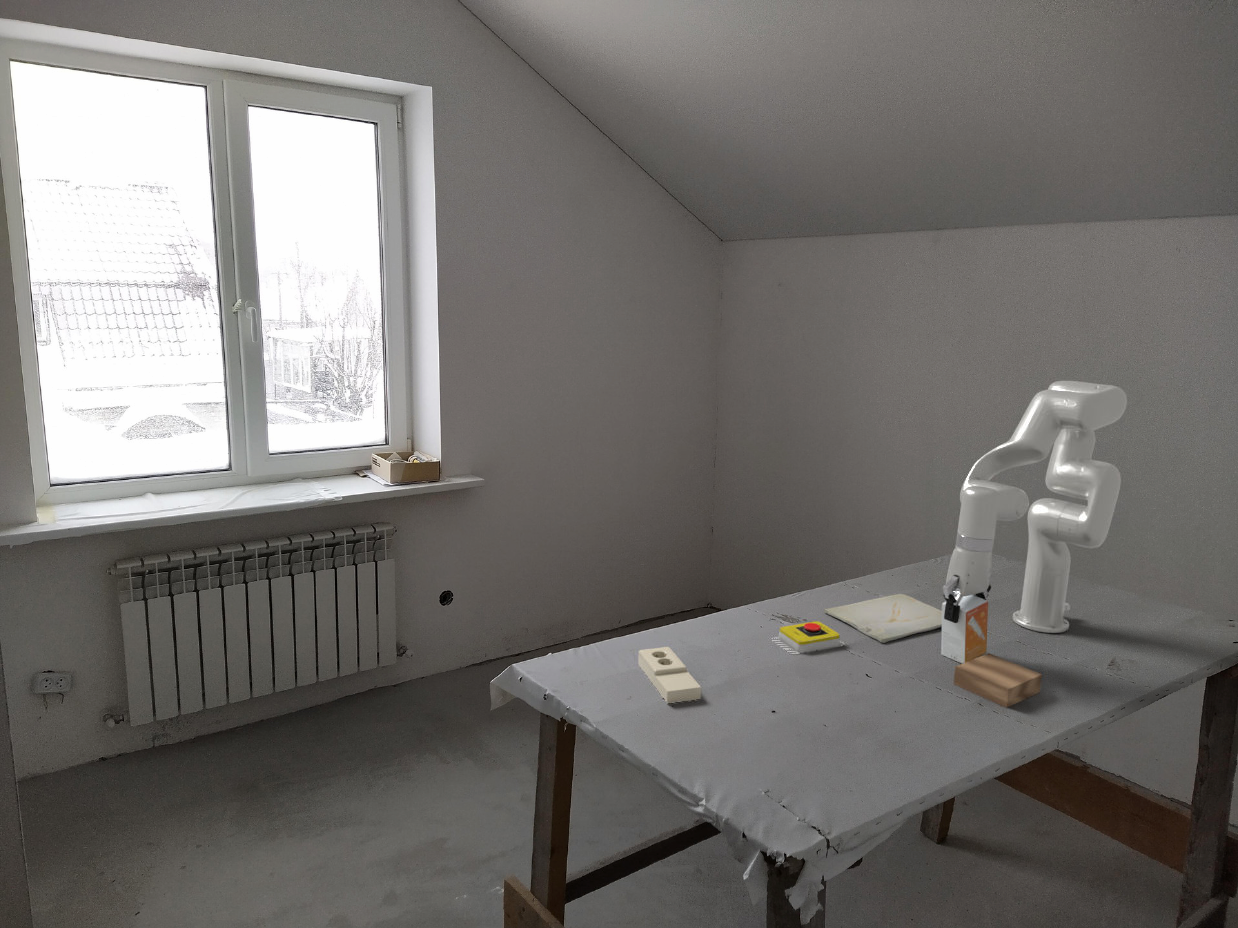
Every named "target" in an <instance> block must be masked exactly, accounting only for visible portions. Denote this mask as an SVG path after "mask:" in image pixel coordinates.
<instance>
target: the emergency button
mask: <svg viewBox="0 0 1238 928" xmlns="http://www.w3.org/2000/svg"><path fill="white" fill-rule="evenodd" d="M778 631H779V633H778V636H776V637H771V639H773V638H774V639H775V638H776V639H777V638H778V639H779V640H772V641H771V642H773V641H783V642H775V643H786V644H776V645H777V646H778V645H786V646H780V648H781V647H791V648H783V649H782V650H784V649H785V650H789V649H790V650H791V649H792V650H793V649H794V650H796V651H787V652H786V653H788V652H796V653H790V654H789V655H793V654H795V655H801V654H805V653H804V652H807V653H811V651H812V652H817V651H816V650H818V651H822V649H823V650H828V649H834V648H838V647H844V646H845V645H846V644H845V642H843V641H842V640H840V634H839V632H837V631H835V630H834V629H832V628H831V627H829V626H827V624H824V623H822V622H821V621H818V620H817V621H815V620H814V621H809V622H803V623H798V624H791V625H785V626H781V627H779V630H778ZM771 639H770V640H771ZM775 643H774V644H775ZM787 645H788V646H787ZM843 645H844V646H843ZM833 647H834V648H833ZM785 650H784V651H785ZM802 652H803V653H802ZM800 653H801V654H800Z"/></svg>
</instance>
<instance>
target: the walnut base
mask: <svg viewBox="0 0 1238 928" xmlns="http://www.w3.org/2000/svg"><path fill="white" fill-rule="evenodd" d="M1042 677H1043V674H1042V673H1039V672H1038V671H1034V670H1032V669H1031V668H1030V669H1029V668H1027V667H1024V666H1022V665H1020V664H1017V663H1014V662H1012V661H1010V660H1008V659H1005V658H1002V657H1000V656H997V655H994V654H992V653H989V652H988V653H985V654H982V655H981V656H979V657H977V658H975V659H973V660H970V661H968V662H965V663H963V664H962V663H960V664H958V665H956V666H955V667H954V675H953V685H954V686H957V687H959V688H961V689H964V690H965V691H968V692H970V693H972V694H975V695H976V696H979V697H982V698H984V699H986V700H988V701H990V702H992V703H994V704H997V705H999V706H1002V707H1004V708H1006V709H1007V708H1009V707H1012V706H1013V705H1015V704H1017V703H1019V702H1022V701H1024V700H1026V699H1029V698H1030V697H1032V696H1034V695H1037V694H1040V692H1041V687H1042V686H1041V685H1042V679H1043V678H1042Z"/></svg>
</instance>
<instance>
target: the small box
mask: <svg viewBox="0 0 1238 928" xmlns="http://www.w3.org/2000/svg"><path fill="white" fill-rule="evenodd" d="M974 595H975V594H973V595H969V596H963V598H962V599H961V601H960V603H959V606H960V612H959V619H958V623H953V622H951V621H948V620H945V619H944V613H945V606H946V602H945V601H944V602H941V603H942V604H941V611H942V627H941V643H940V644H941V649H940V650H941V653H940V654H941V655H942V656H944V657H945V658H948V659H950V660H953V661H955V662H958V663H960V664H963V663H965V662H968V661H970V660H973V659H975V658H978V657H980V656H983V655H985V654H987V647H988V616H989V600H984V599H982V598H979V597H976V596H974ZM957 596H958V595H956V596H954V597H955V599H956V597H957Z"/></svg>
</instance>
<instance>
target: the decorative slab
mask: <svg viewBox="0 0 1238 928" xmlns="http://www.w3.org/2000/svg"><path fill="white" fill-rule="evenodd" d="M823 612H824V613H825V614H828V615H829V616H832V617H833V618H836V619H838V620H839V621H842V622H844V623H846V624H848V625H850V626H852V627H853V628H855V629H856V630H857V631H859V632H860V633H862V634H863V635H864V634H865V635H866V636H868V637H870V638H872V639H875V640H876V641H878V642H879V643H881V644H885V643H888V642H890V641H894V640H899V639H901V638H904V637H907V636H911V635H914V634H917V633H918V634H919V633H923V632H929V631H933V630H936V629H938V628H939V629H940V628H942V609H938V608H936V607H934V606H932V605H929V604H927V603H924V602H923V601H921V600H918V599H916V598H914V597H911V596H909V595H906V594H904V593H898V594H891V595H887V596H882V597H878V598H873V599H867V600H863V601H858V602H854V603H851V604H844V605H841V606H840V605H838V606H834V607H830V608H829V607H828V608H825V609H823Z"/></svg>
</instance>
